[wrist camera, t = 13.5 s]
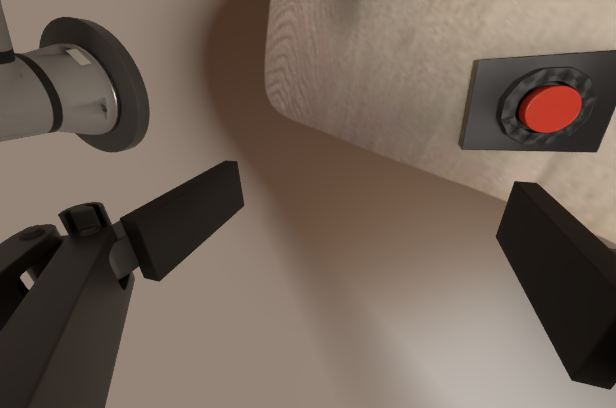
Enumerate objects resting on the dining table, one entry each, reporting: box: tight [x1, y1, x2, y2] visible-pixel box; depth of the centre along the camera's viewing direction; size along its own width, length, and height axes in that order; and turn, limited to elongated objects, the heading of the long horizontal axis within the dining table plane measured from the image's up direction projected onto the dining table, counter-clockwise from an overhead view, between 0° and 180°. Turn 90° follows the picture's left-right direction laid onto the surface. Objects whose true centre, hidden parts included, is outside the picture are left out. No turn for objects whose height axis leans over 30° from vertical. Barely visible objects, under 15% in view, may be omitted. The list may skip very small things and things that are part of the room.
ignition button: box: [519, 85, 582, 133], centre depth 25 cm, size 4×4×2 cm
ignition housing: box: [459, 50, 616, 152], centre depth 27 cm, size 12×9×4 cm
